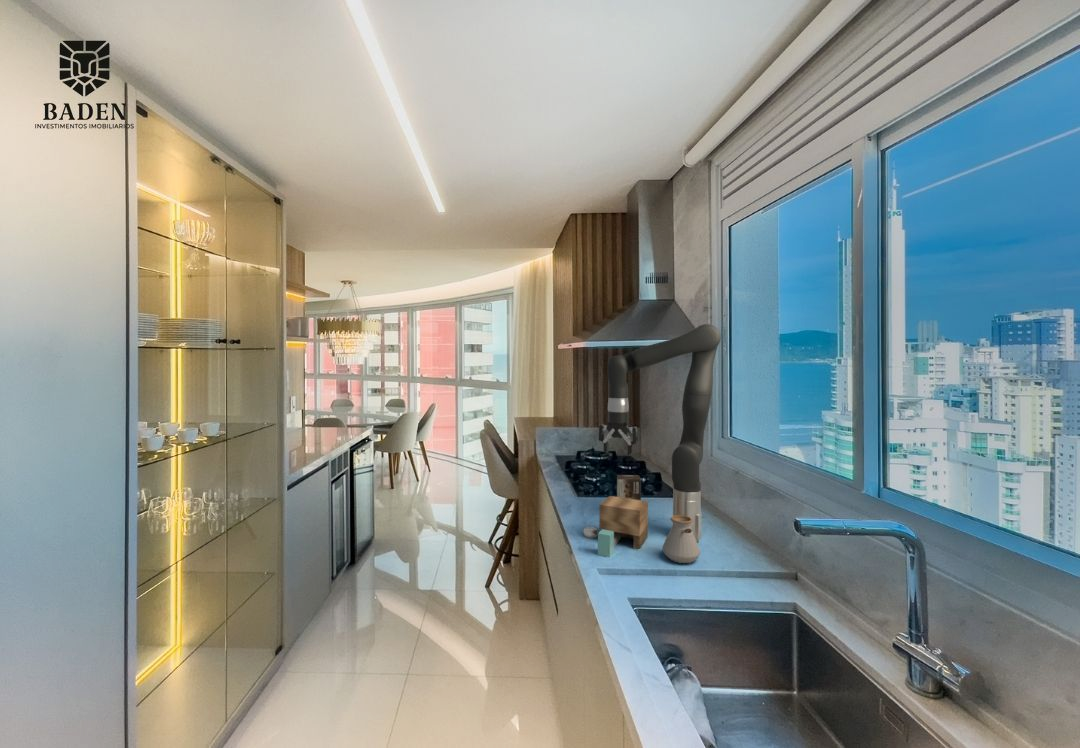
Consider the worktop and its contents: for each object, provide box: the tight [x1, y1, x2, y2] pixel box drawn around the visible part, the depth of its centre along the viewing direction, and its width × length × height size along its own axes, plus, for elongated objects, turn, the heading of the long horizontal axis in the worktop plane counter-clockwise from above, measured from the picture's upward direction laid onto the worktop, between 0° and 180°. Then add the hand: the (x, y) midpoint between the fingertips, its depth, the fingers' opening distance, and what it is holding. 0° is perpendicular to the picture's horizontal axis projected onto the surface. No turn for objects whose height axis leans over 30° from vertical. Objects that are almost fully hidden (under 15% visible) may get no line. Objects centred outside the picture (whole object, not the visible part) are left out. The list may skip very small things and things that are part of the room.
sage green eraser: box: [597, 529, 622, 558], centre depth 152 cm, size 4×16×7 cm, turn 153°
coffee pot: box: [662, 515, 701, 564], centre depth 138 cm, size 21×12×15 cm, turn 171°
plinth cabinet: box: [598, 495, 649, 550], centre depth 158 cm, size 14×11×13 cm
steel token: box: [583, 526, 599, 539], centre depth 162 cm, size 5×5×2 cm
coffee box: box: [616, 474, 642, 501], centre depth 181 cm, size 9×6×16 cm
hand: (617, 453), depth 167 cm, fingers open, 8 cm apart
